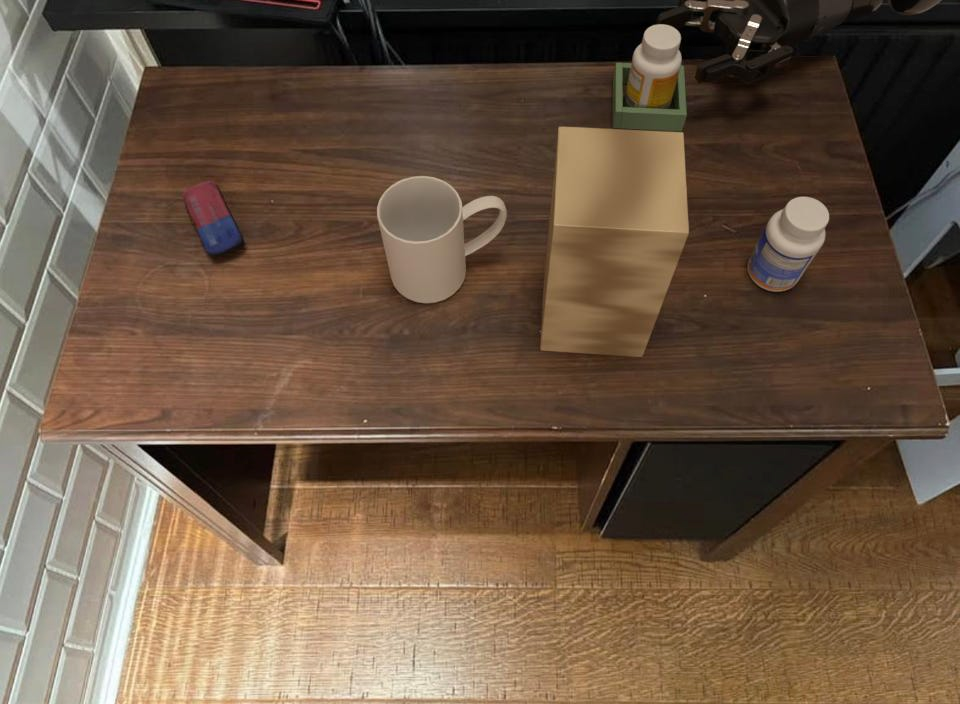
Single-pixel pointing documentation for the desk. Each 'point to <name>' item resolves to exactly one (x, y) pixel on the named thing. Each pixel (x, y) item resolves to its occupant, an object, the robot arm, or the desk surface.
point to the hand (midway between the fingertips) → (677, 50)
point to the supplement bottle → (654, 69)
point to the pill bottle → (788, 244)
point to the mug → (430, 236)
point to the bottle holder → (647, 116)
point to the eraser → (213, 219)
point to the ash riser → (612, 238)
